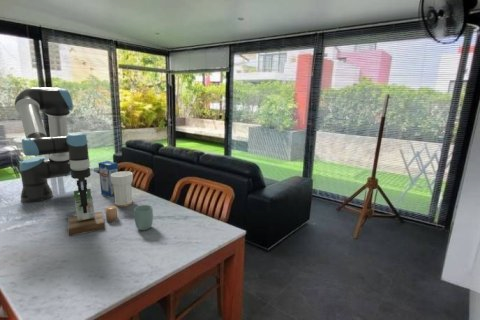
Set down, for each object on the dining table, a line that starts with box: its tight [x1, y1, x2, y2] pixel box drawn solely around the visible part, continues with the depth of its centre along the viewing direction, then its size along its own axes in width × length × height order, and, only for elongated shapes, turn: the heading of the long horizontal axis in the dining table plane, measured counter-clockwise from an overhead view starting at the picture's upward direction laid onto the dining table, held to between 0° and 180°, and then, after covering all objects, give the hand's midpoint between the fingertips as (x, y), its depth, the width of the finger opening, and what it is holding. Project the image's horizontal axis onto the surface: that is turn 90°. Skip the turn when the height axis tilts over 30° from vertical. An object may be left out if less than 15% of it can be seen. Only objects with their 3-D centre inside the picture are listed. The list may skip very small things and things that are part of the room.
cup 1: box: [110, 170, 134, 207], centre depth 151 cm, size 11×11×17 cm
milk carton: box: [97, 160, 119, 198], centre depth 164 cm, size 10×6×20 cm, turn 58°
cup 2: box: [133, 204, 154, 231], centre depth 124 cm, size 8×8×10 cm
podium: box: [67, 210, 106, 236], centre depth 126 cm, size 14×14×3 cm
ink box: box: [73, 188, 95, 221], centre depth 124 cm, size 7×4×13 cm, turn 125°
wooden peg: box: [105, 205, 119, 222], centre depth 133 cm, size 5×5×6 cm
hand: (85, 216), depth 125 cm, fingers closed on ink box, 4 cm apart
